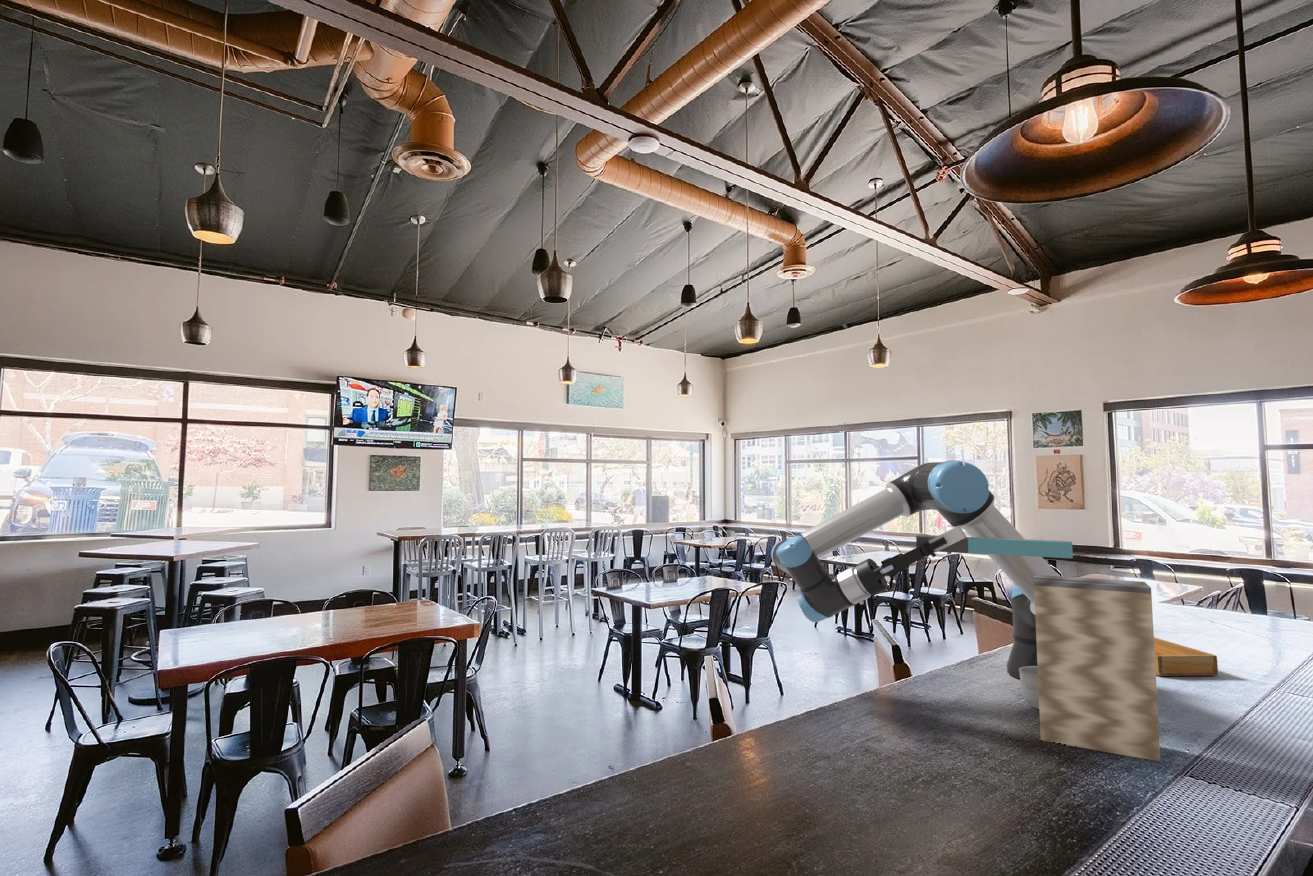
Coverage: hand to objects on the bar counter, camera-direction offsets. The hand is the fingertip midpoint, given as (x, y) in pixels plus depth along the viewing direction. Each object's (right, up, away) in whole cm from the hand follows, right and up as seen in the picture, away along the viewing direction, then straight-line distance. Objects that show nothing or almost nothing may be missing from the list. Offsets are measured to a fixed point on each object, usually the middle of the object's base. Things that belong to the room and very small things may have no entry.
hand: (961, 531), depth 133 cm
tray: (+69, -42, +42) cm, 91 cm away
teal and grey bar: (+5, -4, -3) cm, 7 cm away
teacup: (+23, -39, +4) cm, 45 cm away
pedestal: (+19, -38, -14) cm, 44 cm away
